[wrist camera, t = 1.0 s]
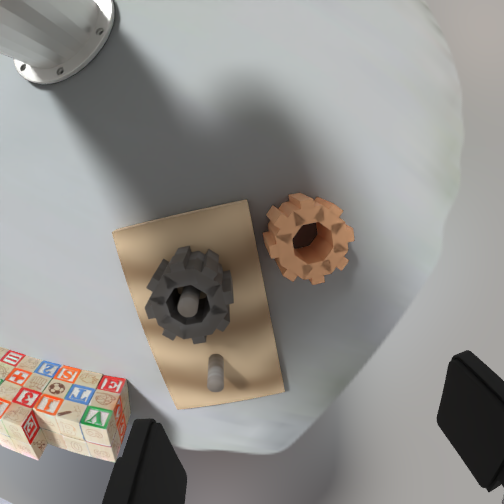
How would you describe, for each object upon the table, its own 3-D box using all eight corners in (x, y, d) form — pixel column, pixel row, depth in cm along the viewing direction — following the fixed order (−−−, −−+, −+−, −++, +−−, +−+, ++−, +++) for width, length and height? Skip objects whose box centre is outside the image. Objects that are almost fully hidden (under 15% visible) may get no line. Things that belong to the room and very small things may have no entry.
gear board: (116, 229, 30) (89, 247, 23) (246, 199, 30) (252, 210, 23) (178, 401, 36) (172, 442, 29) (282, 384, 36) (293, 424, 29)
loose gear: (256, 201, 30) (261, 208, 25) (329, 187, 30) (348, 192, 25) (269, 273, 32) (277, 292, 27) (339, 257, 32) (357, 274, 27)
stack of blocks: (127, 376, 34) (100, 451, 23) (132, 412, 36) (111, 483, 24) (-6, 344, 32) (-52, 392, 20) (4, 378, 34) (-34, 428, 22)
